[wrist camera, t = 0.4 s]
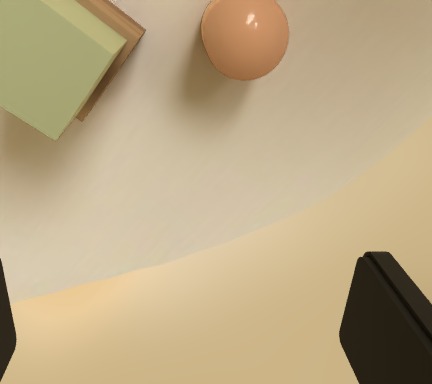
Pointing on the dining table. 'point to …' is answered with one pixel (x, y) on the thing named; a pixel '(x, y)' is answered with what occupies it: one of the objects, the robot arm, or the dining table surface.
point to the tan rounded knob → (244, 36)
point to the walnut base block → (132, 32)
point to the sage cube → (52, 60)
